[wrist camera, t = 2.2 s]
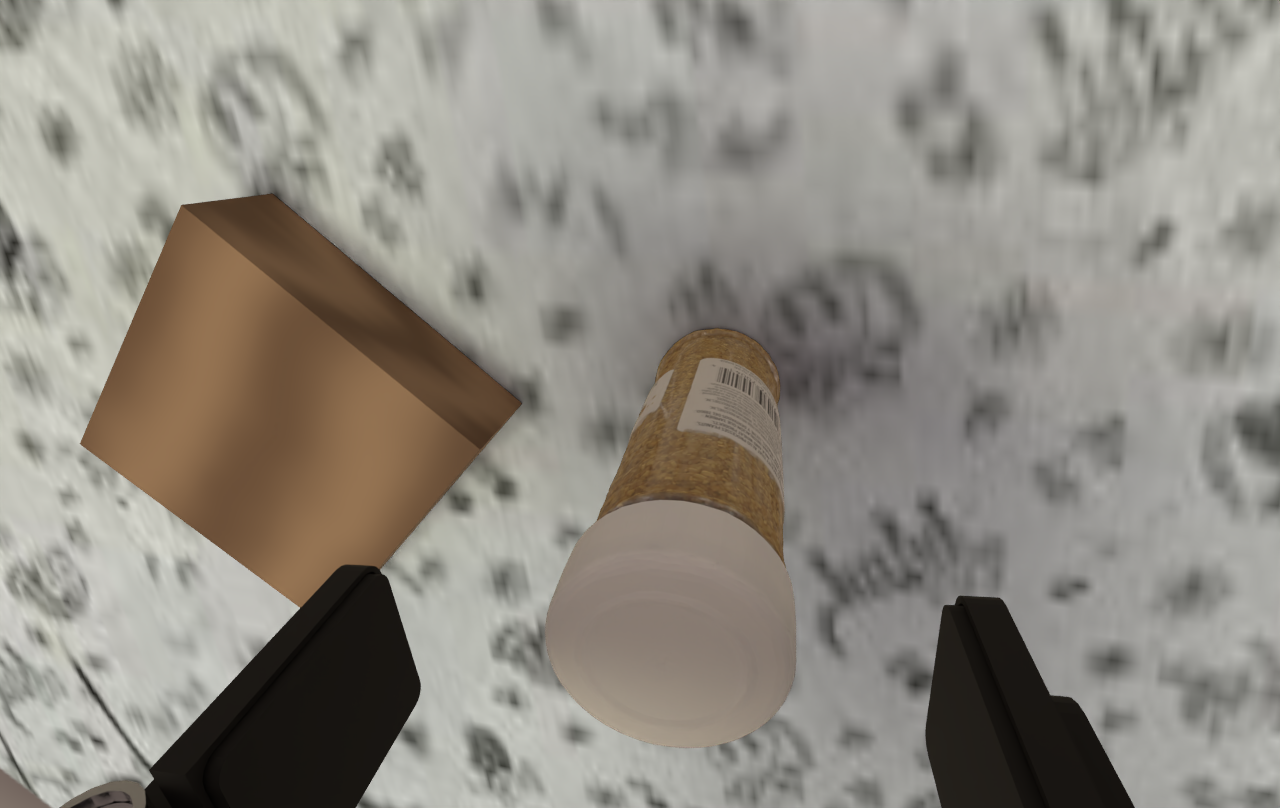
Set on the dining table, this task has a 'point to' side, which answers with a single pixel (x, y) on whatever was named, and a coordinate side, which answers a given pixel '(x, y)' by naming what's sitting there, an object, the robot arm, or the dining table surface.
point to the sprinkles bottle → (686, 560)
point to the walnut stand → (287, 398)
